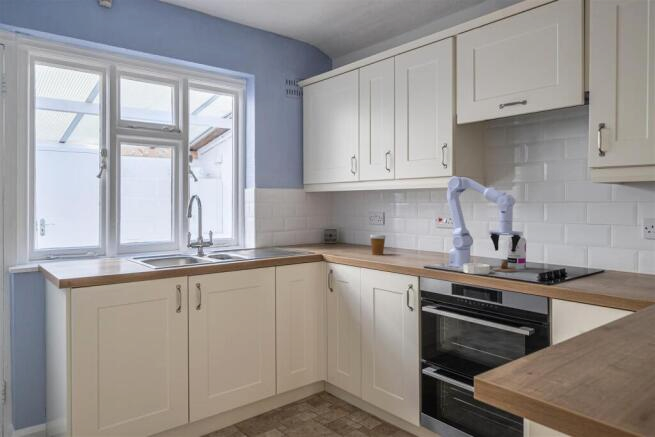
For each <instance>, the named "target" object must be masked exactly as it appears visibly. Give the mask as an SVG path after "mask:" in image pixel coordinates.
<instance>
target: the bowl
mask: <svg viewBox="0 0 655 437" xmlns="http://www.w3.org/2000/svg"><path fill="white" fill-rule="evenodd" d="M490 268H491V267H490V264H486V263H479V262H473V263H471V262H470V263H466V264H463V267H462V269H463V273H466V274H470V275H471V274H472V275H486V274H487V275H488V274H490V272H491V271H490Z"/></svg>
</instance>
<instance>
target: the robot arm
mask: <svg viewBox="0 0 655 437" xmlns="http://www.w3.org/2000/svg"><path fill="white" fill-rule="evenodd" d="M446 183H447V189H446V190H447V192H446V198H447V204H448V208H449V213H450V216H451V221H452V224H453V225H452V226H453V229H454V231H453V233H452V246H454V247H452V248H451V249H450V250H449V259H448V260H449V261H448V262H449V265H448V267H453V268H463V264H466V263H471V247H472V246H473V243H474V237H472V235H471V233H470V231H469V230H468V228H467V227H466V223H465V219H464V215H463V214H464V213H463V210H462V207H461V206H462V205H461V202H460V199H459V197H460V196H461V194H462V193H464V192H465V191H466V190H467V189H471V190H473V191H475V192H478V193H480V194H483V196H484V198H485V199H486V200H489V201H491V202H492V203H495V204H497V206H498V208H499V209H498V213H499V214H498V230H491V229H490V230H488V235H490V236H489V237H490V239H491V240H492V243H493V245H494V247H493V248H494V250H495V252H497V251H499V240H500V236H509V237H512V252H515V250H516V246H517V244H518V242H519V240H520V238H521V237H524V236H523V232H524V231H514V230H513V220H514V219H513V214H514V213H513V212H514V211H513V210H514V208H513V207H514V205H515V203H516V200H515V197H514V196H513V195H511V194H506V192H505V191H501V190H498V189H497V187H495V186H494V187H492V186H490V187H486V186H485V185H483V184H480V183H479V182H476V181H475V180H474V179H471V178H468V177H467V176H452V177H450V179H449V180H448V182H446Z"/></svg>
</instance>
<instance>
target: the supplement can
mask: <svg viewBox="0 0 655 437" xmlns="http://www.w3.org/2000/svg"><path fill="white" fill-rule="evenodd" d="M520 237H521V238H520V240H519V242H518V244H517V246H516V250H515V252H512V236H508V239H507V242H506V243H507V244H506V245H507V246H506V247H507V248H506V251H507V252H506V254H507V255H506V257H507V258H506V260H508V267H510V268H516V269H517V270H525V269H526V268H527V267H526V266H527V240H526V237H524V236H520Z"/></svg>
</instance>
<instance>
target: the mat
mask: <svg viewBox="0 0 655 437" xmlns="http://www.w3.org/2000/svg"><path fill="white" fill-rule="evenodd" d="M490 272H495V273H498V272H497V271H493V267H490ZM519 272H521V270H517V272H502V273H503V274H505V273H506V274H512V275H514V274H517V273H519Z"/></svg>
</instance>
